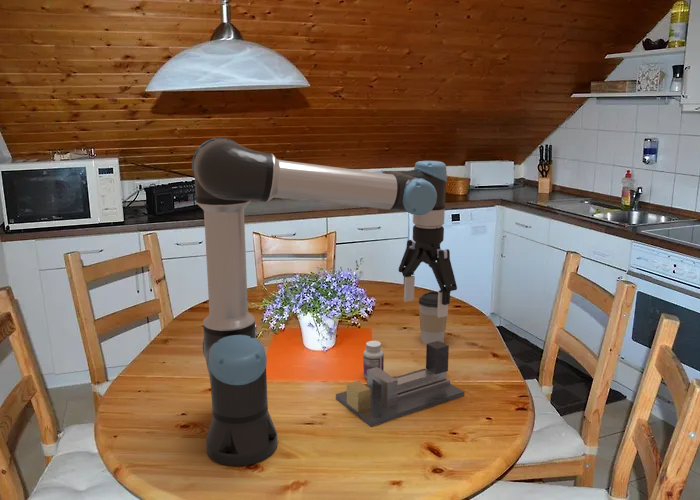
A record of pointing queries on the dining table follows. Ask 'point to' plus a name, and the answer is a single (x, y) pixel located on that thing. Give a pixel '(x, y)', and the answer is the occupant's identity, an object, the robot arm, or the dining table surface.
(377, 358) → the pill bottle
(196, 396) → the dining table surface
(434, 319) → the coffee cup
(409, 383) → the sliding bolt with handle
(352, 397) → the block
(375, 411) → the slotted base plate
